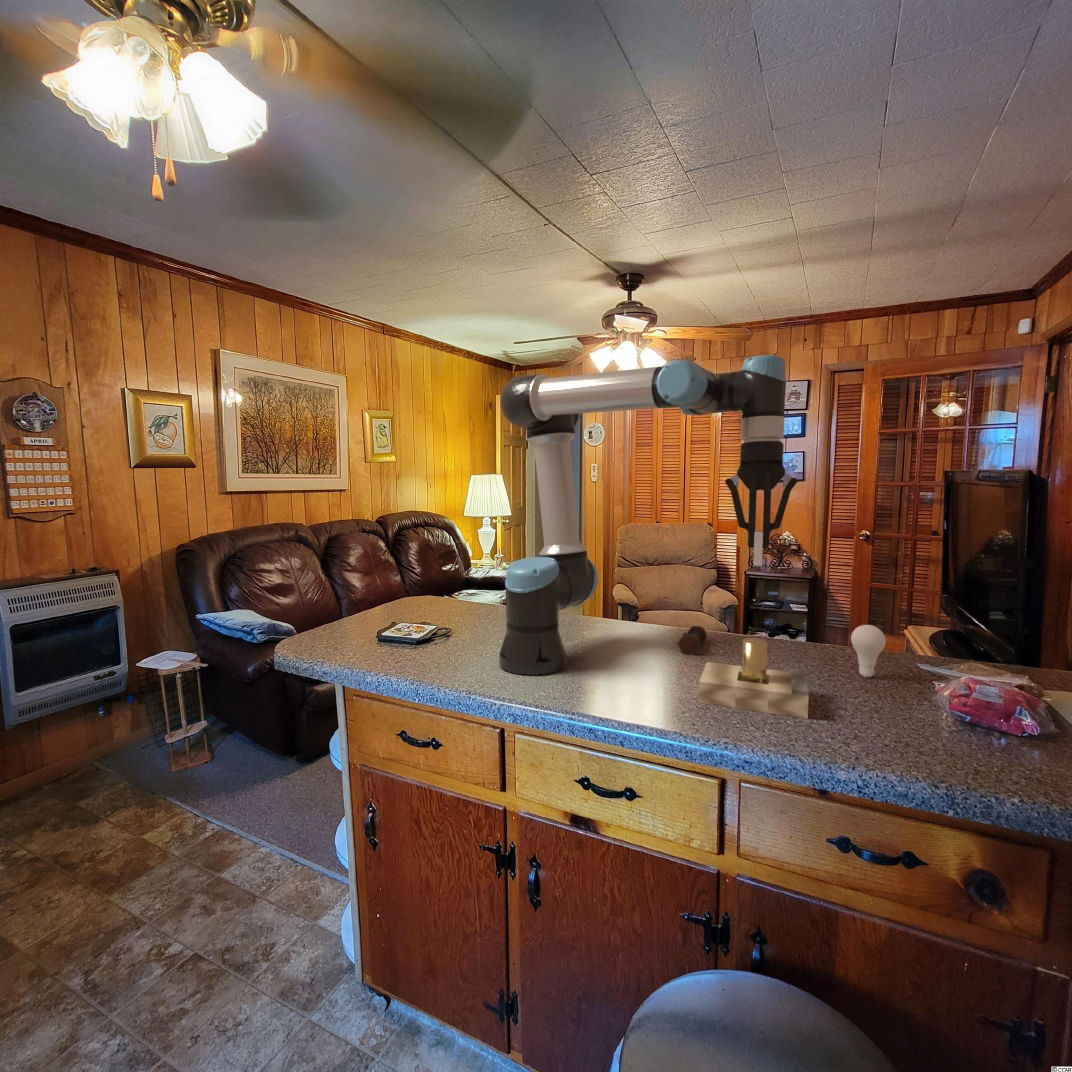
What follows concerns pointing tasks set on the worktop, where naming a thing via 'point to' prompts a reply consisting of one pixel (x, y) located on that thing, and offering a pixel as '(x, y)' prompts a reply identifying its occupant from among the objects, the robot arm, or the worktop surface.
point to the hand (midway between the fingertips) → (757, 564)
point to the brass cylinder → (754, 660)
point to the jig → (755, 690)
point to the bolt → (692, 640)
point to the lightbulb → (867, 647)
